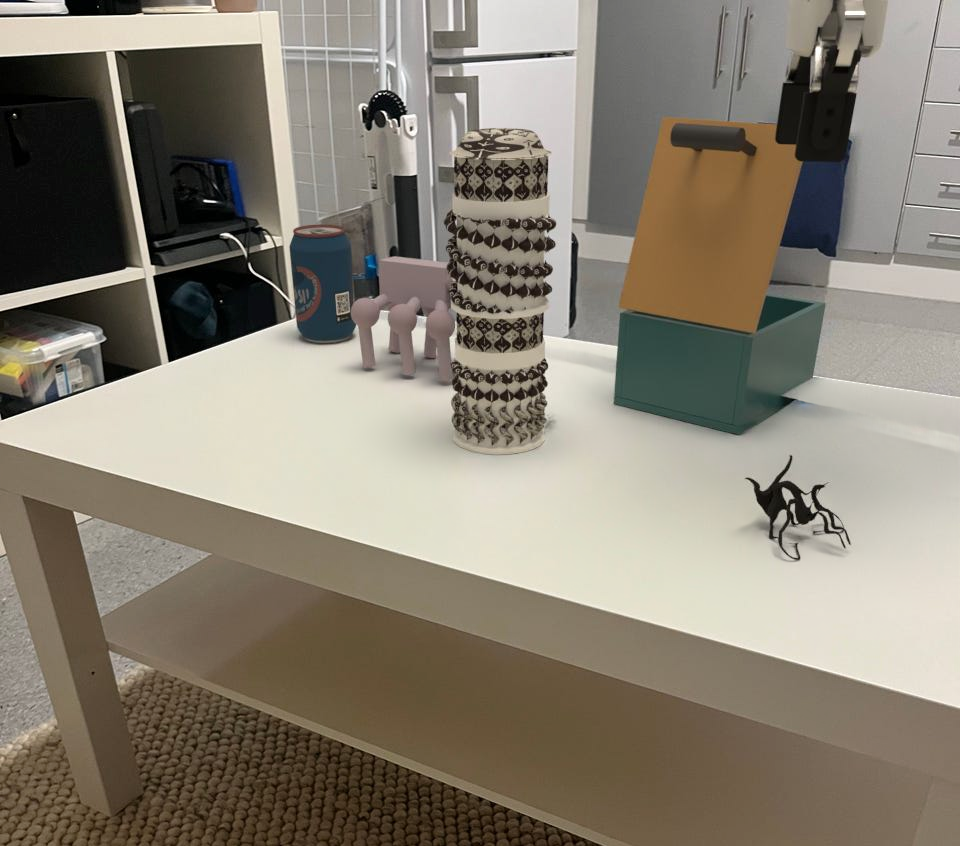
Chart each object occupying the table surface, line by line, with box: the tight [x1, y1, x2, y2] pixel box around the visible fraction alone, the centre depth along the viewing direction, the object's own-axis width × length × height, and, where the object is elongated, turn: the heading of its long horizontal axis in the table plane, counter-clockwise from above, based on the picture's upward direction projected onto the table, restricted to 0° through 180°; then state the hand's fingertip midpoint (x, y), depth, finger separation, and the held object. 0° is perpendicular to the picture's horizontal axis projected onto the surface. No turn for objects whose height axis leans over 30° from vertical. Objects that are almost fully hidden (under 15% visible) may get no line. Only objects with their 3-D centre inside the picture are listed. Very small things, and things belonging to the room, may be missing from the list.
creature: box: [744, 454, 852, 561], centre depth 73 cm, size 8×5×8 cm
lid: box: [618, 116, 804, 334], centre depth 87 cm, size 16×14×5 cm
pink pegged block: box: [351, 255, 456, 382], centre depth 105 cm, size 20×11×14 cm, turn 62°
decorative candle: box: [443, 127, 557, 455], centre depth 85 cm, size 9×9×25 cm
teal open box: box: [613, 292, 827, 435], centre depth 99 cm, size 16×14×9 cm
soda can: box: [288, 224, 357, 344], centre depth 117 cm, size 7×7×12 cm
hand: (807, 152), depth 71 cm, fingers open, 9 cm apart
